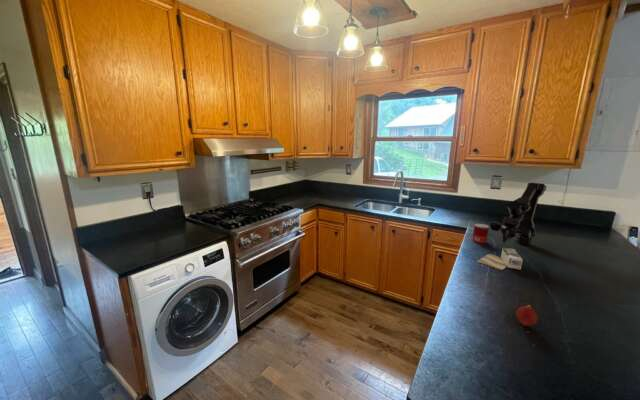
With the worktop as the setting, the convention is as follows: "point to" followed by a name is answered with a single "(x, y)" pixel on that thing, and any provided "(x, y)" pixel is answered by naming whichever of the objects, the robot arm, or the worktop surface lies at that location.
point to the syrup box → (511, 258)
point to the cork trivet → (493, 261)
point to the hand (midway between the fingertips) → (503, 242)
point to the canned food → (480, 233)
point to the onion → (526, 315)
